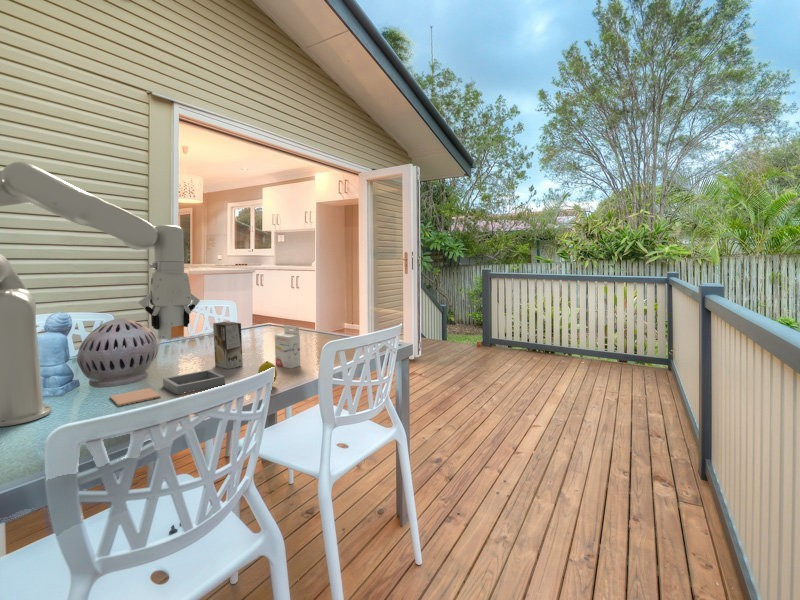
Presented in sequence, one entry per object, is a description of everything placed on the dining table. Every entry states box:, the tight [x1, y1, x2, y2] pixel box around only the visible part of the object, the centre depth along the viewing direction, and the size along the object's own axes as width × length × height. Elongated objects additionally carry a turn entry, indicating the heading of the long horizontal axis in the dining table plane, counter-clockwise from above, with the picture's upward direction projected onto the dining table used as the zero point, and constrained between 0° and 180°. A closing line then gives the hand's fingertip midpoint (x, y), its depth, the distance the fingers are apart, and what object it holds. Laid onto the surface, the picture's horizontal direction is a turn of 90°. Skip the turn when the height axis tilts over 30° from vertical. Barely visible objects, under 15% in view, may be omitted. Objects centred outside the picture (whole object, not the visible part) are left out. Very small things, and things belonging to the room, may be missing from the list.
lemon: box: [257, 360, 278, 383], centre depth 125 cm, size 6×6×8 cm
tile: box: [109, 387, 161, 407], centre depth 115 cm, size 10×10×1 cm
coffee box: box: [212, 320, 244, 370], centre depth 150 cm, size 9×6×16 cm
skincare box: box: [157, 299, 185, 341], centre depth 121 cm, size 6×4×12 cm
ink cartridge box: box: [274, 324, 301, 369], centre depth 150 cm, size 9×5×15 cm, turn 58°
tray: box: [162, 369, 226, 396], centre depth 127 cm, size 14×12×2 cm
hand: (171, 327), depth 121 cm, fingers closed on skincare box, 7 cm apart
